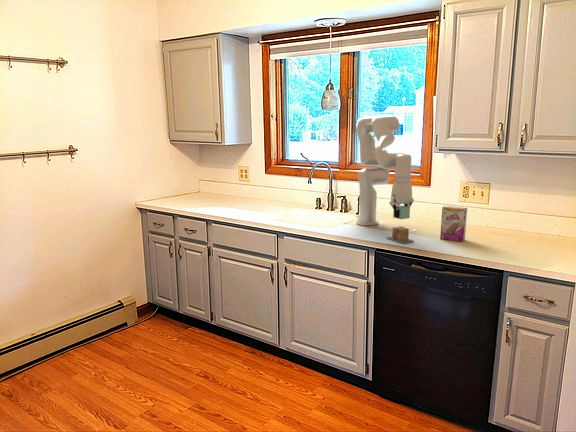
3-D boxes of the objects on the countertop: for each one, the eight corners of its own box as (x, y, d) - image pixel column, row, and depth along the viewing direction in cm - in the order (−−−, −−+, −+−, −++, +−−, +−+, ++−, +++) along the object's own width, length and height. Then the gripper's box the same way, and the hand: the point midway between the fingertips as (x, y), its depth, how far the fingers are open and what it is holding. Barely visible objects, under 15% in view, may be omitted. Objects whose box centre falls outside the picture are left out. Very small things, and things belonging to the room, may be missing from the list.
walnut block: (392, 238, 236) (392, 227, 235) (400, 237, 239) (400, 226, 238) (400, 241, 232) (400, 230, 230) (408, 239, 234) (408, 228, 233)
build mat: (386, 238, 239) (386, 237, 239) (397, 236, 242) (397, 235, 242) (403, 243, 229) (403, 242, 228) (414, 241, 232) (414, 240, 232)
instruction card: (403, 229, 257) (403, 228, 257) (409, 228, 259) (409, 227, 259) (411, 231, 252) (411, 230, 252) (417, 230, 254) (417, 229, 254)
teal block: (393, 217, 234) (393, 206, 233) (401, 216, 236) (402, 205, 235) (401, 219, 229) (401, 208, 228) (409, 218, 232) (409, 206, 231)
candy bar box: (439, 239, 236) (441, 207, 233) (442, 237, 240) (444, 205, 237) (463, 242, 230) (465, 209, 227) (465, 239, 235) (467, 207, 231)
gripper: (410, 178, 236) (408, 213, 240) (383, 180, 228) (382, 217, 232) (421, 179, 230) (419, 216, 234) (394, 182, 222) (393, 220, 225)
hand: (401, 216), depth 233 cm, fingers closed on teal block, 5 cm apart
